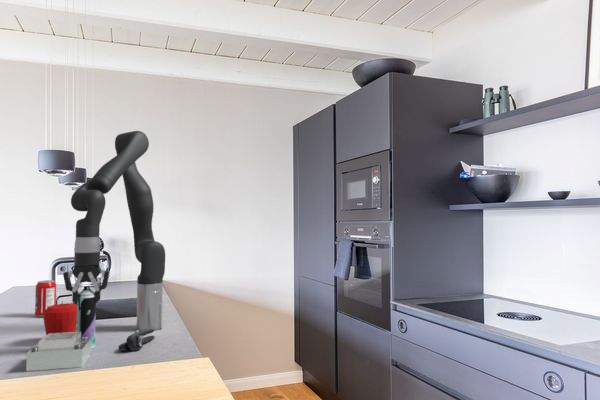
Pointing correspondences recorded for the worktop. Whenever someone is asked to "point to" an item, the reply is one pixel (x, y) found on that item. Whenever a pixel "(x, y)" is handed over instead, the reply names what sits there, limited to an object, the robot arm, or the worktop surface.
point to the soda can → (44, 296)
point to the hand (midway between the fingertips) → (86, 302)
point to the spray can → (86, 314)
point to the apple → (60, 318)
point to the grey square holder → (59, 352)
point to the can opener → (136, 340)
